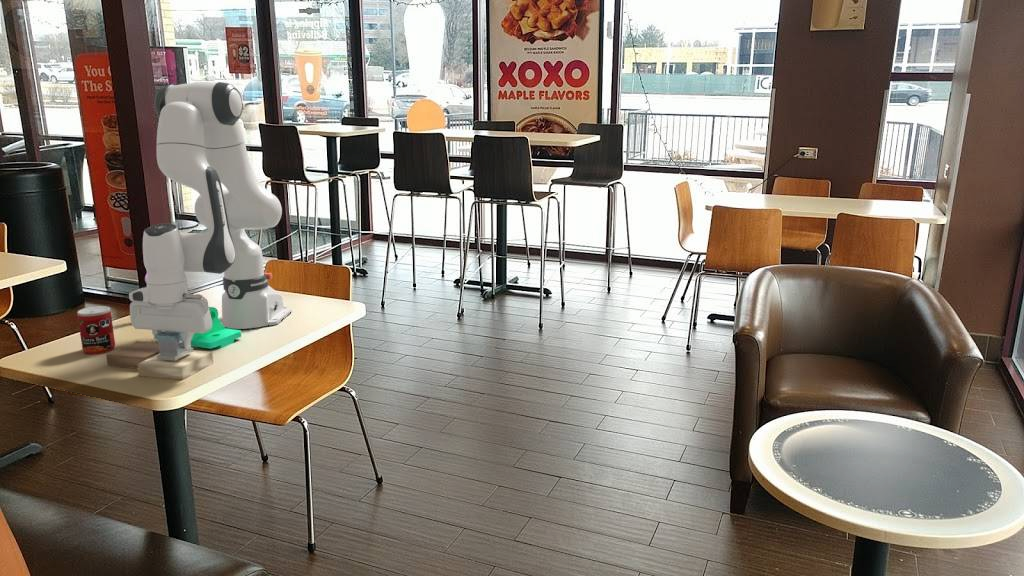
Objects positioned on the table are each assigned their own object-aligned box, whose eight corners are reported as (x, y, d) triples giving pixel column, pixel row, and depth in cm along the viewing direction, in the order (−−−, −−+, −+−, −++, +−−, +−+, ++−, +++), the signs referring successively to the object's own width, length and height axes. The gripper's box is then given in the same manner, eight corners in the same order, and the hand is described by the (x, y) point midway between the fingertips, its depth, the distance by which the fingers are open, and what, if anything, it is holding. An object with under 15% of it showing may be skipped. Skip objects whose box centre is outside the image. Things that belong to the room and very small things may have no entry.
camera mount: (211, 352, 201) (207, 315, 199) (189, 349, 204) (185, 312, 202) (243, 339, 212) (240, 303, 210) (221, 336, 215) (218, 301, 213)
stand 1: (138, 352, 202) (136, 341, 201) (175, 354, 199) (173, 343, 198) (107, 365, 191) (106, 354, 190) (146, 369, 189) (144, 357, 188)
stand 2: (171, 359, 196) (170, 348, 195) (213, 363, 193) (212, 351, 192) (139, 375, 184) (137, 364, 183) (183, 379, 181) (181, 367, 181)
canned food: (79, 355, 199) (73, 314, 196) (87, 346, 206) (81, 307, 204) (112, 353, 201) (106, 312, 198) (118, 344, 208) (113, 304, 206)
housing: (157, 359, 185) (154, 335, 183) (175, 350, 192) (173, 326, 190) (175, 360, 184) (172, 336, 182) (193, 351, 190) (190, 328, 189)
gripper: (214, 291, 185) (220, 346, 188) (140, 287, 189) (147, 341, 192) (198, 298, 179) (204, 354, 182) (122, 293, 183) (130, 348, 186)
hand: (174, 347), depth 187 cm, fingers closed on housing, 5 cm apart
